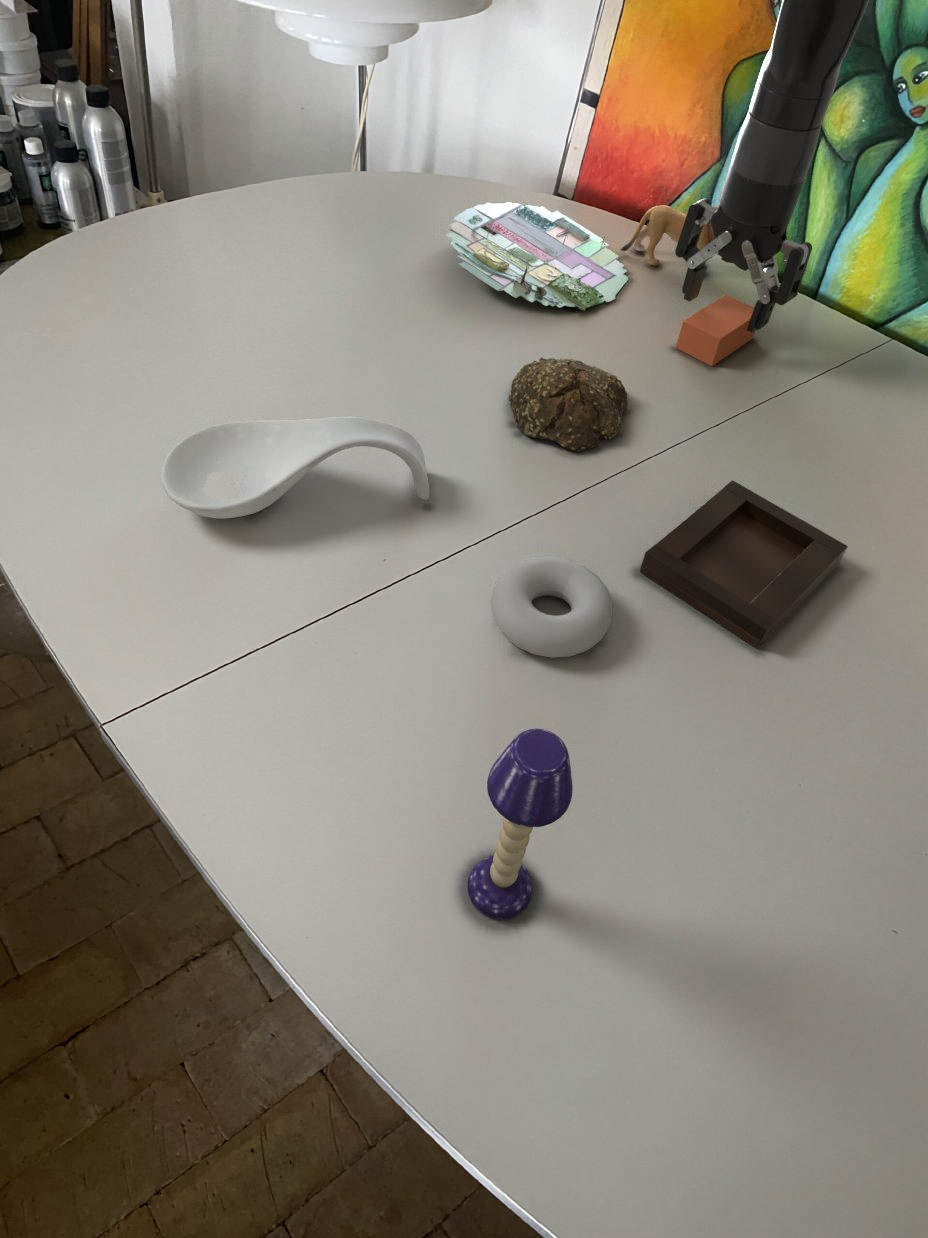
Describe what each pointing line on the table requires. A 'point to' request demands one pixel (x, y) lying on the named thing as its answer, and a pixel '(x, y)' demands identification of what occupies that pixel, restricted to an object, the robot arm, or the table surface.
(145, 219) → the table surface
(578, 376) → the bread roll
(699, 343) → the orange block
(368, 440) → the spoon rest
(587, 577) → the donut
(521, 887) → the toy lamp
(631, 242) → the lion figurine
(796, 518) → the back plate
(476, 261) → the city model
